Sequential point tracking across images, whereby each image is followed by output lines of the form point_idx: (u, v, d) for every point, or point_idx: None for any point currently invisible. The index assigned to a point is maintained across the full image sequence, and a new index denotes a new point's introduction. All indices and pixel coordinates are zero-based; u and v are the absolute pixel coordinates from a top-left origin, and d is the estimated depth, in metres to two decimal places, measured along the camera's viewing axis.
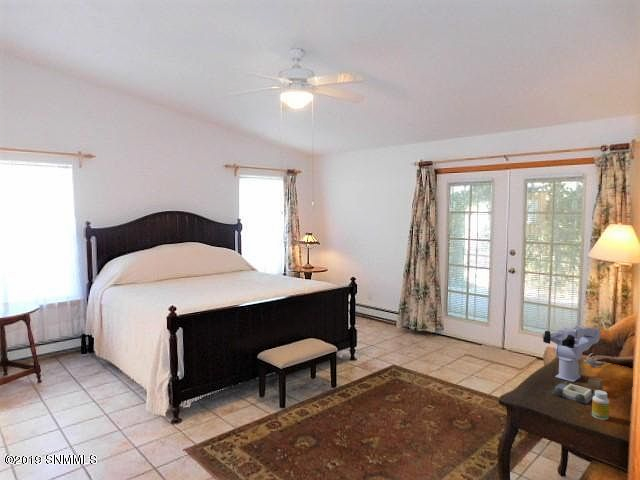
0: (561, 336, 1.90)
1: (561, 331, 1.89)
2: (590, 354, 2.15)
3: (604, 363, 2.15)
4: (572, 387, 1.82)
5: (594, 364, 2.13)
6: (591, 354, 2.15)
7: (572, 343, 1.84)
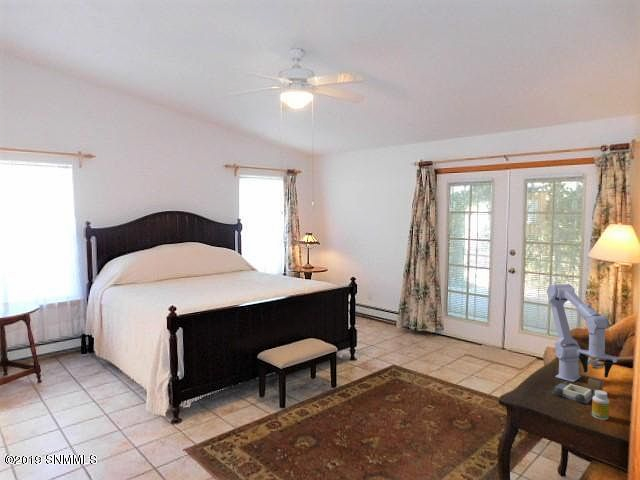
0: None
1: None
2: None
3: None
4: (572, 387, 1.82)
5: (596, 365, 2.12)
6: None
7: None
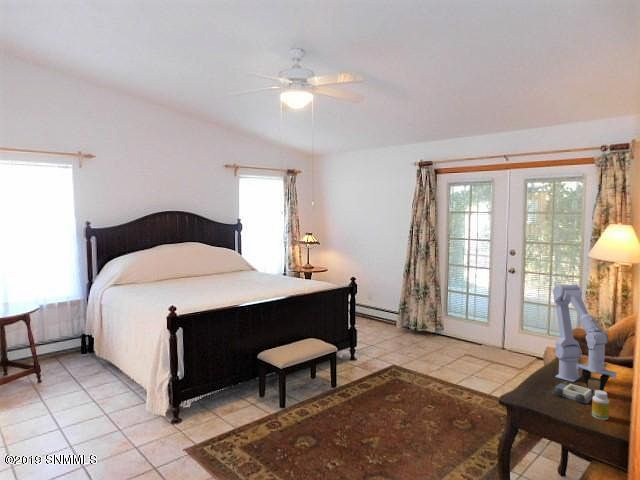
0: None
1: None
2: None
3: None
4: (572, 387, 1.82)
5: None
6: None
7: None
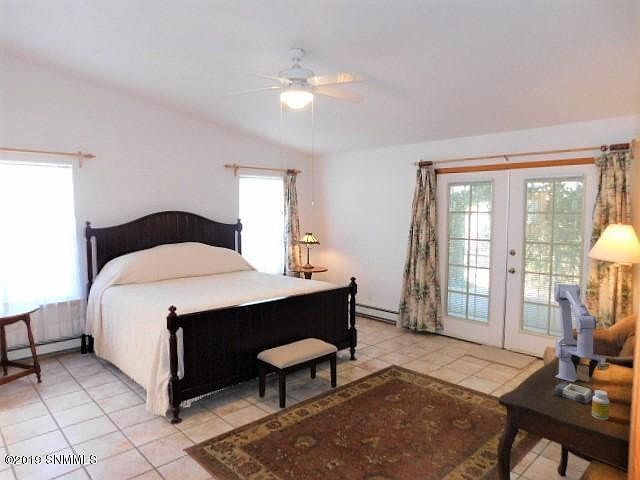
0: None
1: None
2: None
3: None
4: (572, 387, 1.82)
5: (600, 366, 2.11)
6: None
7: None
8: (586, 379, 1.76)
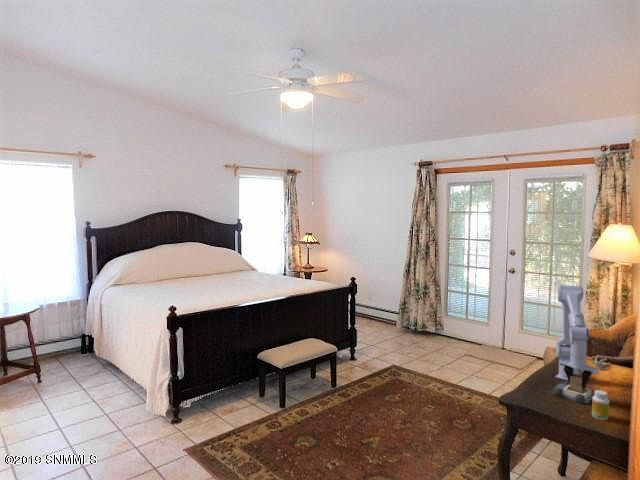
0: None
1: None
2: (597, 356, 2.12)
3: None
4: None
5: None
6: (598, 356, 2.12)
7: None
8: (579, 390, 1.75)
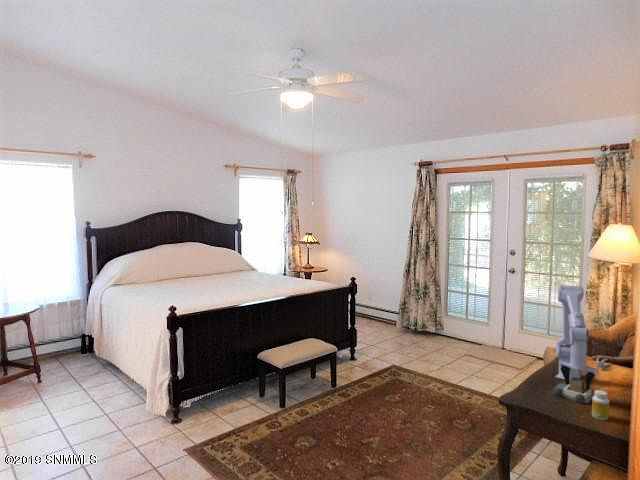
0: None
1: None
2: (599, 357, 2.11)
3: (610, 364, 2.13)
4: None
5: (603, 367, 2.10)
6: (599, 357, 2.11)
7: None
8: None
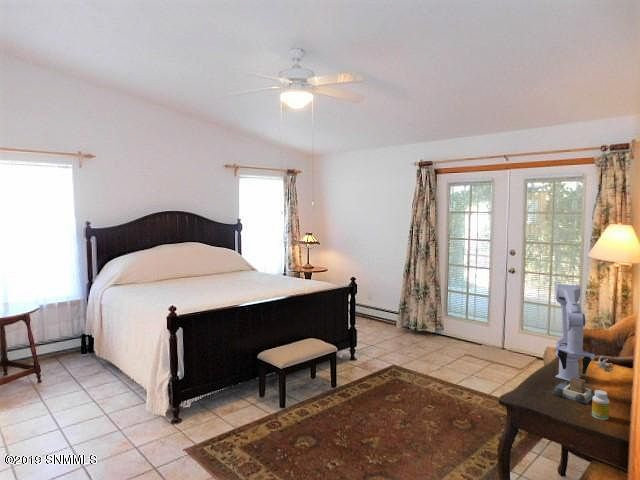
0: None
1: None
2: (600, 357, 2.10)
3: (611, 364, 2.13)
4: None
5: (605, 367, 2.09)
6: (601, 357, 2.10)
7: None
8: None
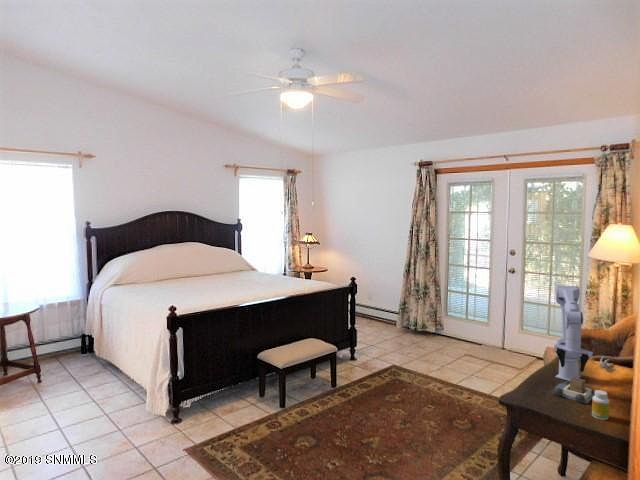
0: None
1: None
2: (602, 357, 2.10)
3: None
4: None
5: None
6: (603, 357, 2.10)
7: None
8: None
